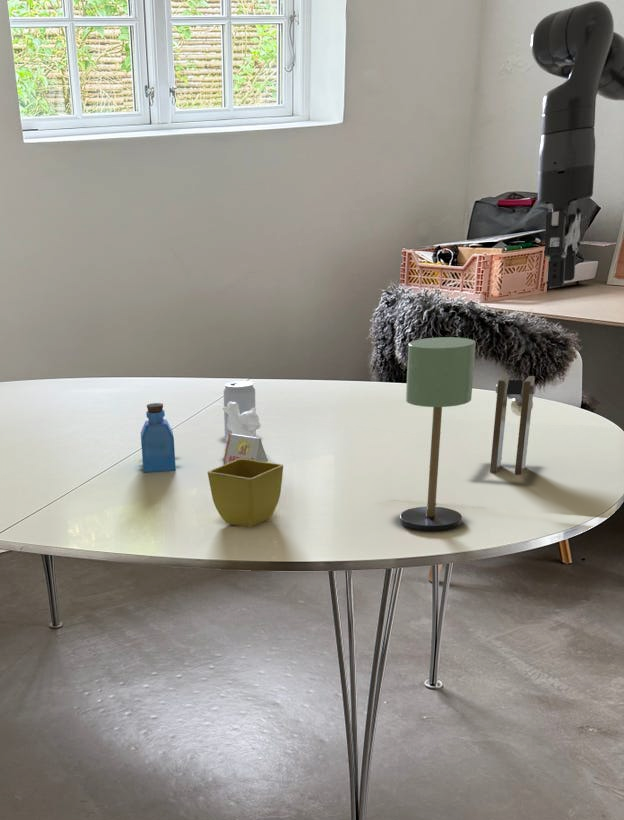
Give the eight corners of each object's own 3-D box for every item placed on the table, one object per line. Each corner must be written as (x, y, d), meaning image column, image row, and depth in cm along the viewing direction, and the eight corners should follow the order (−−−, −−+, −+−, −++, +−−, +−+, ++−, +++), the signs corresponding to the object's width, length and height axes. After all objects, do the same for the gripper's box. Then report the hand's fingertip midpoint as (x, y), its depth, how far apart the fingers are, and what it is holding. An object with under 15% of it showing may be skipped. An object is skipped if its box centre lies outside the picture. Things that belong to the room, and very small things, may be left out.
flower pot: (208, 525, 152) (205, 471, 148) (241, 510, 157) (239, 457, 153) (252, 535, 146) (251, 479, 142) (285, 519, 152) (285, 464, 148)
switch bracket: (488, 467, 169) (497, 371, 161) (536, 471, 165) (547, 372, 157) (476, 484, 161) (485, 383, 153) (526, 488, 157) (537, 385, 150)
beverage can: (229, 437, 200) (227, 380, 195) (259, 438, 198) (258, 380, 193) (221, 445, 195) (219, 386, 190) (252, 446, 193) (250, 386, 188)
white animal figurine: (234, 471, 178) (232, 407, 173) (212, 464, 183) (210, 402, 178) (268, 461, 182) (268, 398, 177) (246, 455, 187) (244, 394, 182)
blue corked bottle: (175, 470, 182) (171, 407, 176) (143, 472, 182) (138, 409, 176) (174, 461, 187) (170, 400, 182) (142, 463, 187) (138, 402, 182)
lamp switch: (510, 417, 168) (513, 397, 167) (532, 418, 166) (535, 398, 166) (501, 397, 156) (504, 375, 156) (524, 398, 154) (528, 376, 154)
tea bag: (237, 486, 169) (236, 431, 165) (268, 492, 165) (267, 435, 160) (224, 492, 167) (222, 435, 163) (254, 498, 163) (253, 440, 158)
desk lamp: (442, 512, 149) (454, 335, 138) (472, 530, 142) (488, 343, 130) (389, 520, 148) (397, 341, 136) (417, 538, 140) (428, 350, 128)
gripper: (548, 170, 146) (544, 281, 153) (528, 170, 136) (525, 290, 142) (601, 162, 143) (595, 276, 149) (585, 162, 132) (579, 285, 138)
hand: (561, 283), depth 145 cm, fingers open, 8 cm apart
